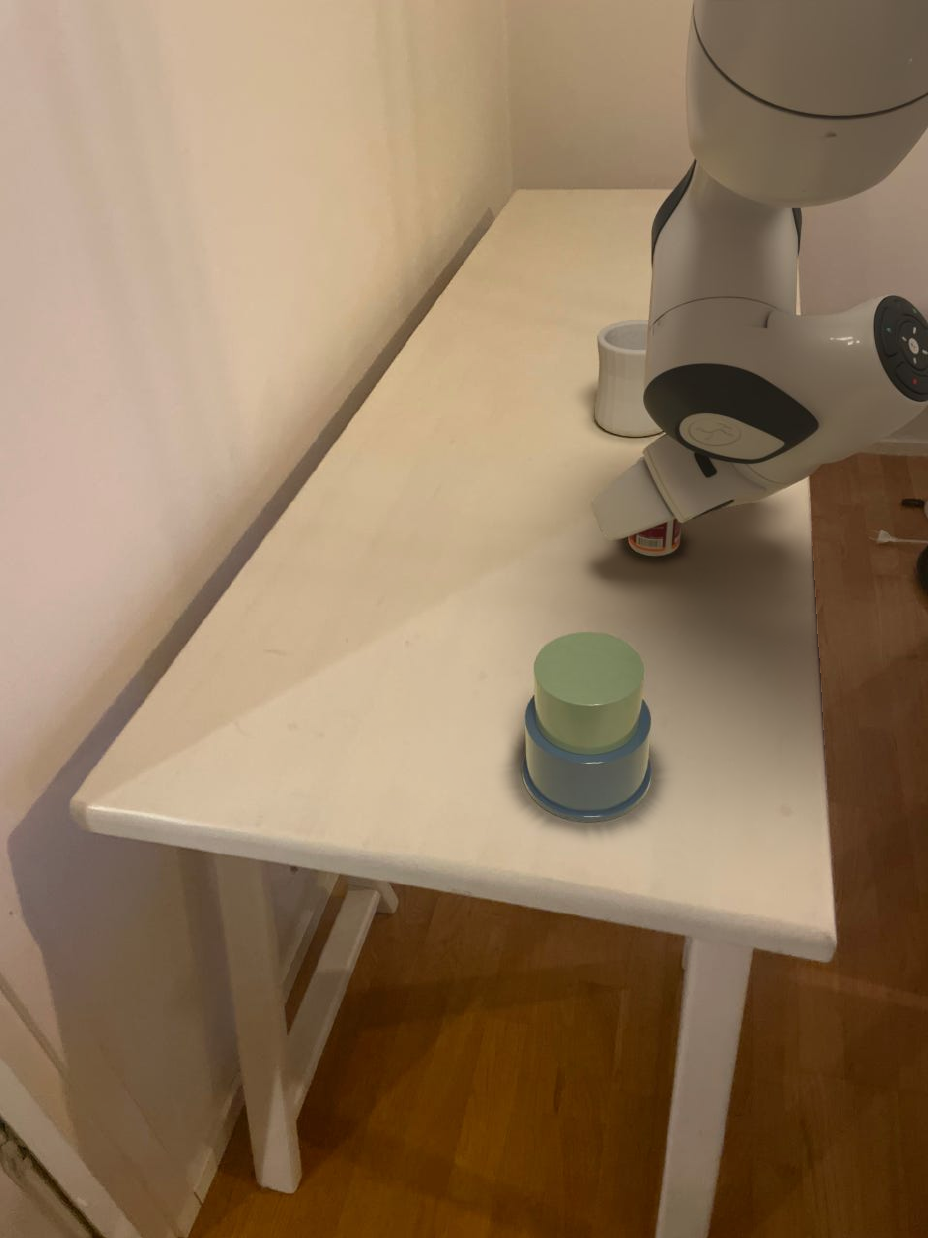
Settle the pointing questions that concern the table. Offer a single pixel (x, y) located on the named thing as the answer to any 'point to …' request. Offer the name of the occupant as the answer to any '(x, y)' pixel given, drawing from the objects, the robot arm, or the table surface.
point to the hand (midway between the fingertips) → (650, 500)
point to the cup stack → (587, 729)
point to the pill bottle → (657, 538)
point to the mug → (623, 380)
